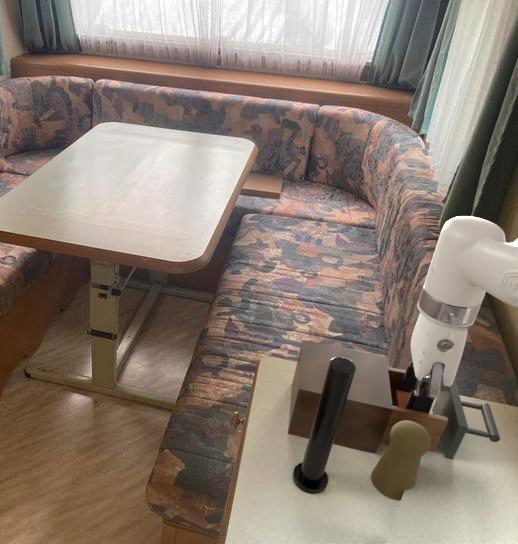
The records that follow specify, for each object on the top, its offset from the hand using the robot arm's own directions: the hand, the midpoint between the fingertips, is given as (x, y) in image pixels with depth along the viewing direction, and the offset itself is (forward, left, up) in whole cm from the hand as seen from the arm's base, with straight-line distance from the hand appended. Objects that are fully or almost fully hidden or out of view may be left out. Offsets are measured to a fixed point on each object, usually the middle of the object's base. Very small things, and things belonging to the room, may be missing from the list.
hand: (414, 399), depth 89 cm
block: (0, 0, -5) cm, 5 cm away
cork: (-2, +11, -7) cm, 14 cm away
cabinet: (+10, +4, -7) cm, 13 cm away
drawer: (-3, -1, -6) cm, 7 cm away
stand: (+8, +18, -7) cm, 21 cm away
